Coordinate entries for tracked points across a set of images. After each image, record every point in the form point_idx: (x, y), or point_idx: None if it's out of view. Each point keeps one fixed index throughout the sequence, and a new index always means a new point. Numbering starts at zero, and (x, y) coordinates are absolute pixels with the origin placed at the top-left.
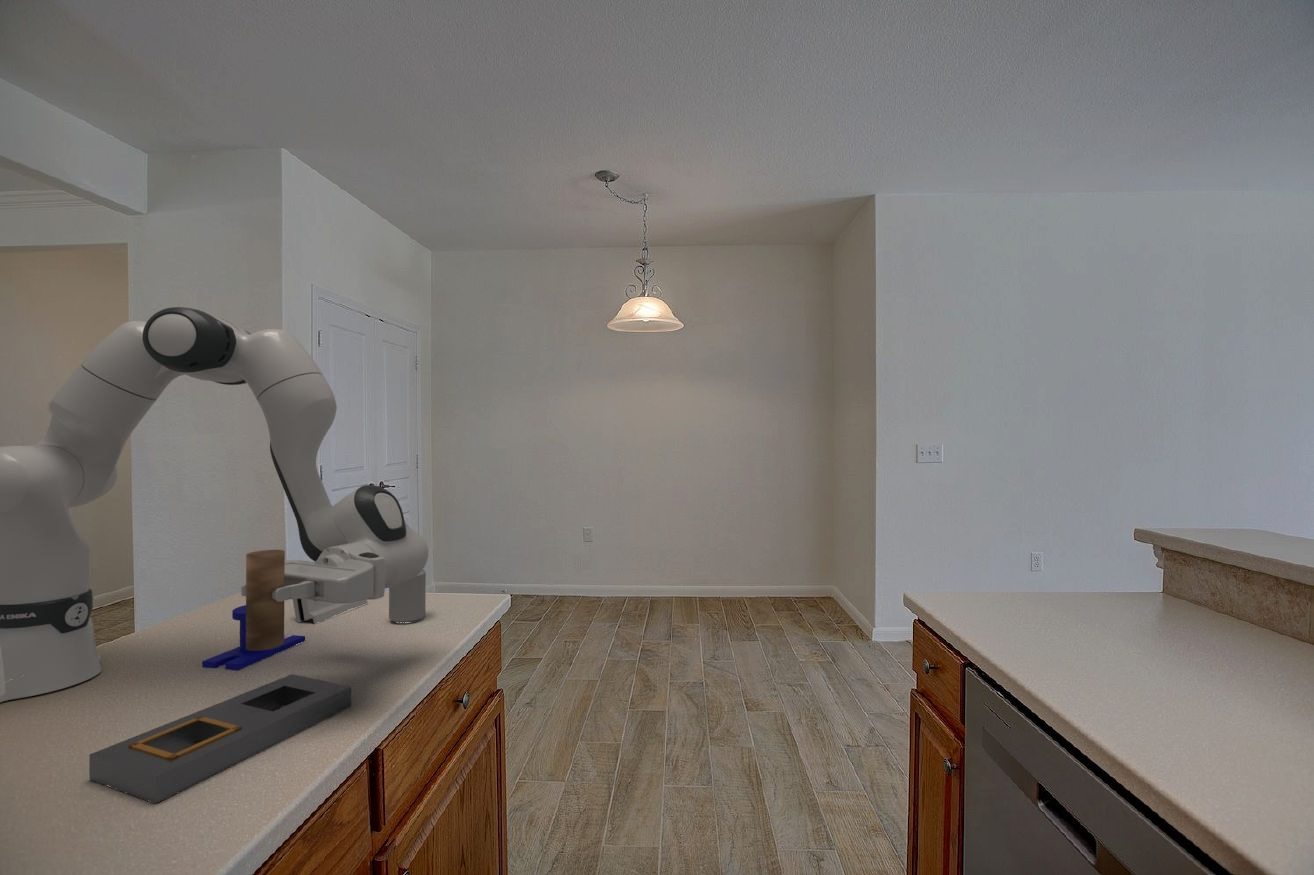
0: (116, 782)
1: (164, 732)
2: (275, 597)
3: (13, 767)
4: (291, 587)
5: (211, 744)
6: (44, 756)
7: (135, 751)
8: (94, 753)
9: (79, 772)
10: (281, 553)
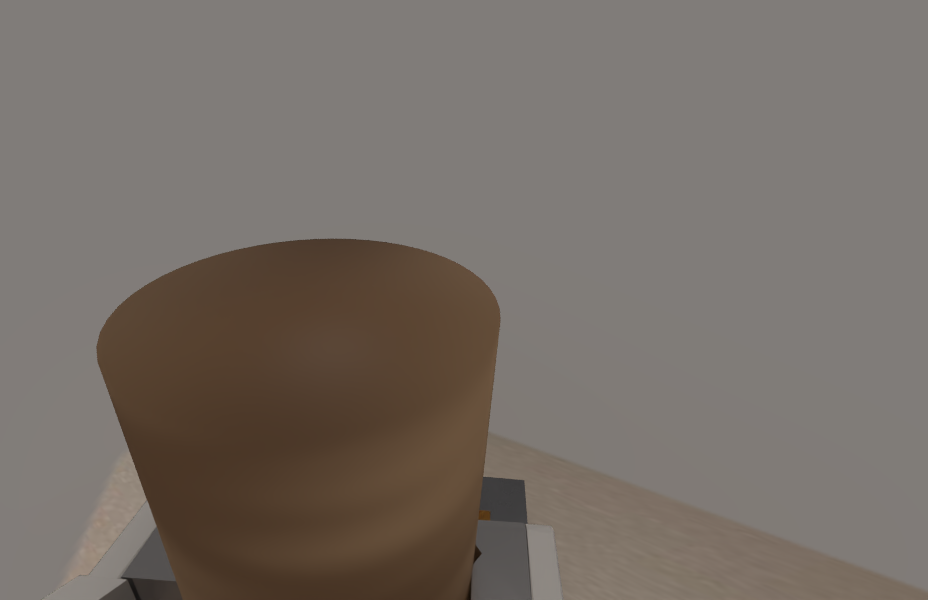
0: None
1: None
2: None
3: (687, 505)
4: (76, 586)
5: None
6: (699, 541)
7: None
8: (520, 484)
9: (566, 523)
10: (110, 325)
